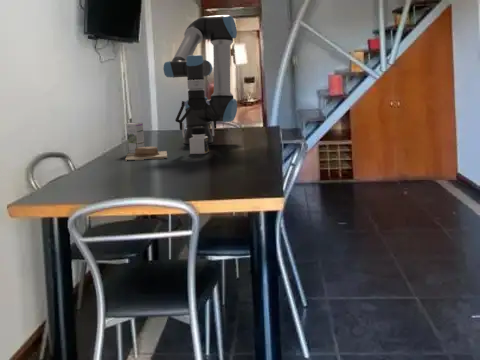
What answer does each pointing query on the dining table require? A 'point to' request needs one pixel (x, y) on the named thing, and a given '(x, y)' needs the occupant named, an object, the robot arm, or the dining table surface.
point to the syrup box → (135, 136)
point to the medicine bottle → (198, 141)
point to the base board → (161, 156)
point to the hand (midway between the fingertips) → (198, 136)
